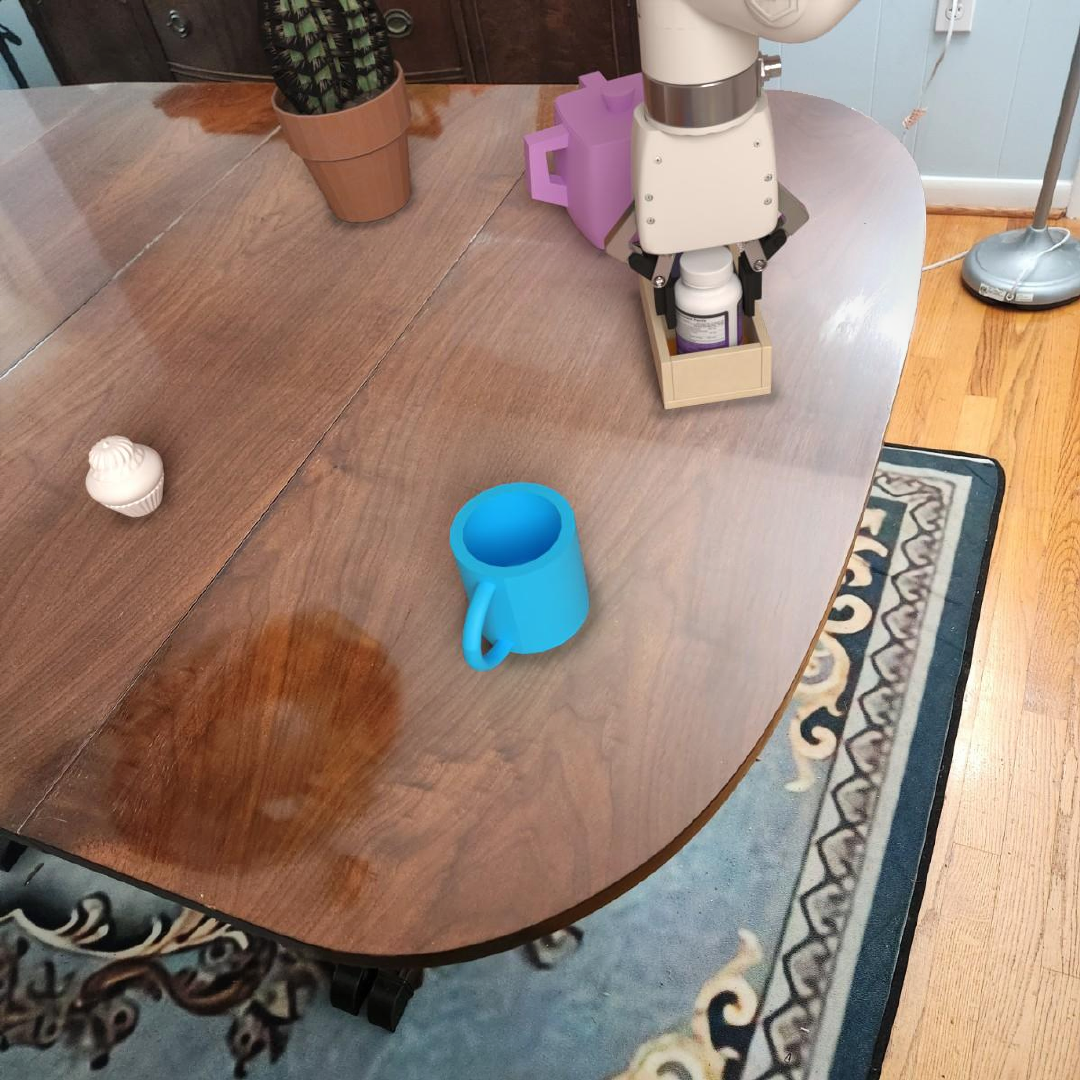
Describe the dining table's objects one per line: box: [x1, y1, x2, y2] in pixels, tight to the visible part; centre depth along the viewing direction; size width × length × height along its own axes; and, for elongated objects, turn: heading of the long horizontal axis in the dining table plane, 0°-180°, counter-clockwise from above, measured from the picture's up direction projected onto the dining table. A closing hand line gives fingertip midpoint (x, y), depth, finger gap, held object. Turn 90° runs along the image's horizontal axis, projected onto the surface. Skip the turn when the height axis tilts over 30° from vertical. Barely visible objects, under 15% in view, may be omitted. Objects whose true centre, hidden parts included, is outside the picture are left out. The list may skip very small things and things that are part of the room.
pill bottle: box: [674, 246, 743, 355], centre depth 80 cm, size 5×5×10 cm
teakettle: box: [522, 70, 644, 251], centre depth 98 cm, size 17×17×12 cm
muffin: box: [85, 434, 165, 518], centre depth 81 cm, size 6×6×7 cm
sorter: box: [637, 243, 773, 411], centre depth 85 cm, size 9×16×5 cm, turn 3°
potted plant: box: [256, 0, 413, 224], centre depth 102 cm, size 14×14×25 cm
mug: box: [449, 481, 591, 672], centre depth 66 cm, size 12×8×8 cm
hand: (707, 310), depth 80 cm, fingers closed on pill bottle, 5 cm apart
